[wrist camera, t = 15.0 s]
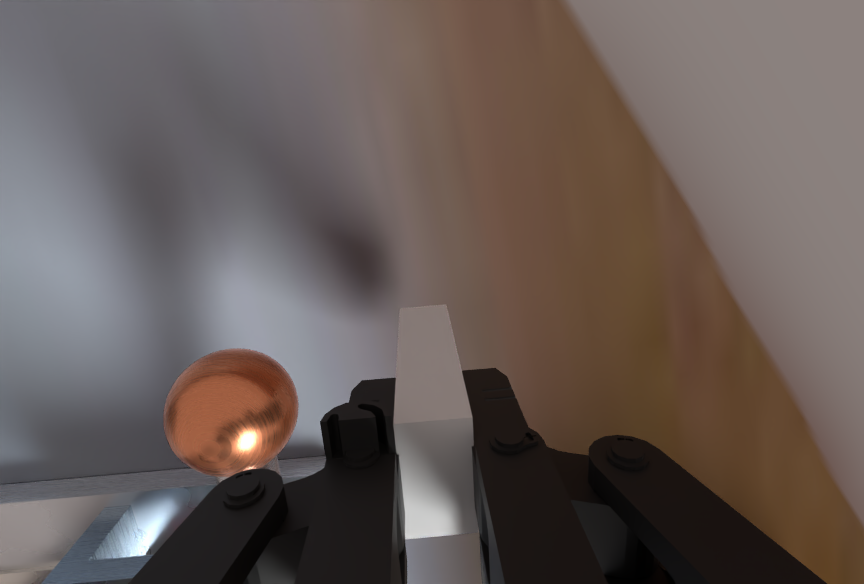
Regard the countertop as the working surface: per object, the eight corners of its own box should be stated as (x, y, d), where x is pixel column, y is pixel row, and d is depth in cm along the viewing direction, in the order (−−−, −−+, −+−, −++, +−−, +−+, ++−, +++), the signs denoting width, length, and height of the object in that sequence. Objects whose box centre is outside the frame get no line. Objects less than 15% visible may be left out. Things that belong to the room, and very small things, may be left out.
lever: (249, 592, 16) (211, 697, 13) (185, 334, 13) (118, 392, 10) (343, 583, 16) (327, 685, 13) (300, 325, 13) (267, 379, 10)
